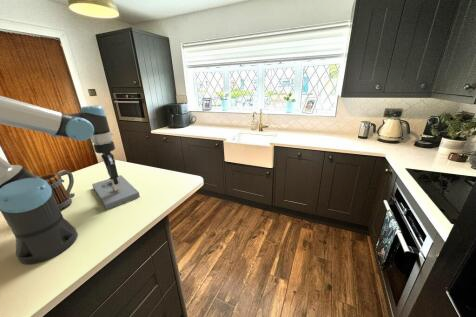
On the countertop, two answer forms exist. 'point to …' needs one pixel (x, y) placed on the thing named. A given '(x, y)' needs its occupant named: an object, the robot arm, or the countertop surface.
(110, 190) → the plate
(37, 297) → the countertop surface
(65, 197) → the mug
